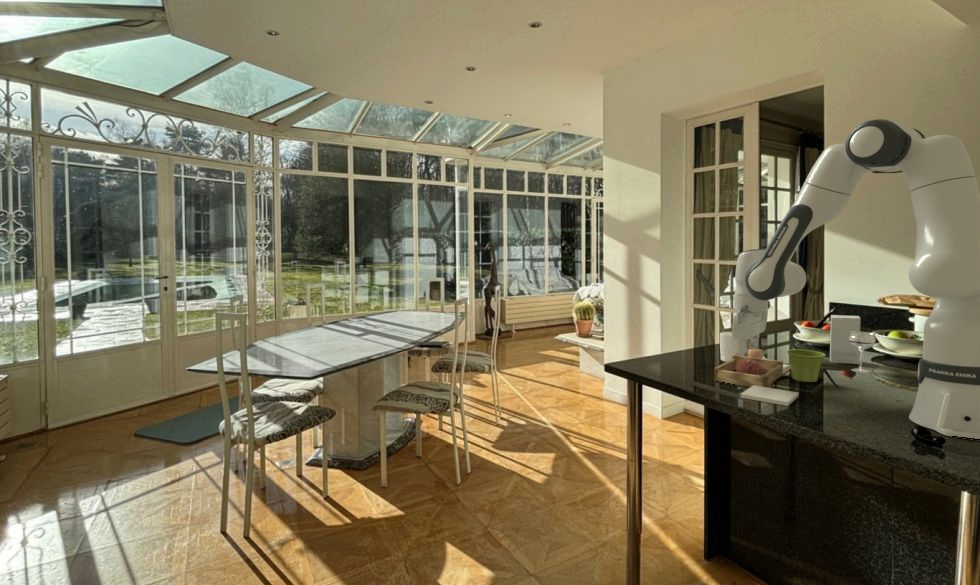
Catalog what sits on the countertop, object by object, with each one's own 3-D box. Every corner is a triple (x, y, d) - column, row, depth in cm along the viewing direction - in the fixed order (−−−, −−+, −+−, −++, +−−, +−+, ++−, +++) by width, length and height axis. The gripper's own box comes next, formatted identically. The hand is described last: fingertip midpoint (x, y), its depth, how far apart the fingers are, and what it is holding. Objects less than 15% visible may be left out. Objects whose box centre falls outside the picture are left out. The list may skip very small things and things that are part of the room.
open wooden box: (782, 377, 155) (783, 361, 154) (766, 389, 142) (766, 372, 142) (733, 370, 164) (733, 355, 164) (714, 381, 152) (714, 364, 151)
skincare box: (858, 361, 175) (860, 315, 173) (859, 365, 169) (862, 318, 168) (828, 358, 179) (830, 314, 178) (829, 362, 174) (831, 316, 172)
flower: (756, 364, 147) (756, 351, 151) (729, 372, 152) (729, 358, 156) (770, 382, 149) (769, 368, 153) (742, 389, 155) (742, 375, 158)
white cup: (747, 365, 170) (748, 336, 169) (721, 365, 172) (722, 335, 171) (740, 360, 178) (741, 332, 177) (716, 359, 180) (717, 331, 179)
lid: (795, 367, 167) (796, 364, 167) (782, 377, 155) (783, 373, 155) (749, 361, 176) (749, 358, 176) (733, 370, 164) (733, 366, 164)
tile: (798, 396, 136) (798, 392, 136) (787, 406, 128) (787, 402, 128) (753, 388, 144) (753, 385, 143) (740, 397, 135) (740, 393, 135)
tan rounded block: (764, 365, 167) (764, 349, 167) (759, 367, 164) (760, 351, 164) (749, 362, 170) (750, 348, 170) (745, 365, 167) (745, 349, 167)
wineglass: (879, 373, 159) (881, 334, 158) (857, 373, 159) (859, 334, 158) (863, 368, 166) (865, 331, 164) (842, 368, 166) (844, 331, 164)
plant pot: (817, 378, 153) (818, 350, 152) (828, 387, 144) (830, 356, 143) (782, 377, 156) (783, 348, 155) (791, 385, 147) (792, 355, 146)
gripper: (751, 309, 142) (748, 358, 143) (772, 302, 157) (769, 346, 158) (727, 307, 146) (724, 355, 147) (749, 300, 161) (747, 344, 162)
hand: (748, 350), depth 153 cm, fingers open, 8 cm apart
